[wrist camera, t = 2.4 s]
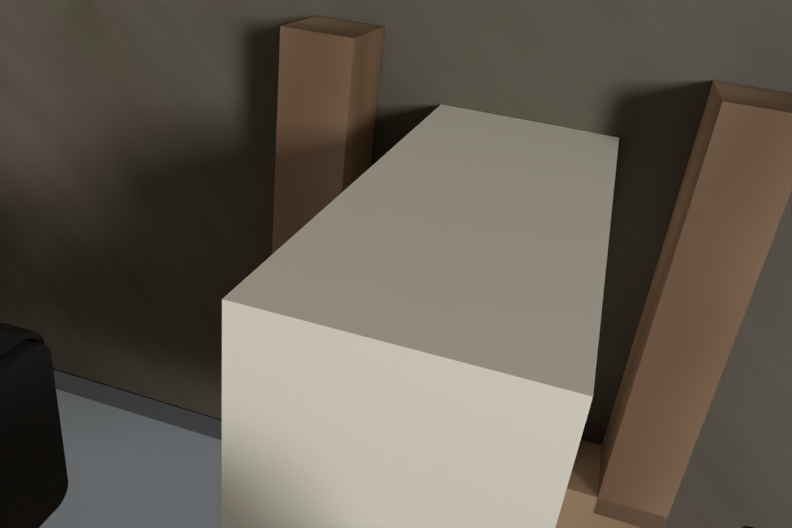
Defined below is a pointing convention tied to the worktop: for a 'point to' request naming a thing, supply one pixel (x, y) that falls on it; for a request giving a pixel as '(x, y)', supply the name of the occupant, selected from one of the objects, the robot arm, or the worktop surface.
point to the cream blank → (424, 337)
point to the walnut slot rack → (673, 278)
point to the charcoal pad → (135, 461)
